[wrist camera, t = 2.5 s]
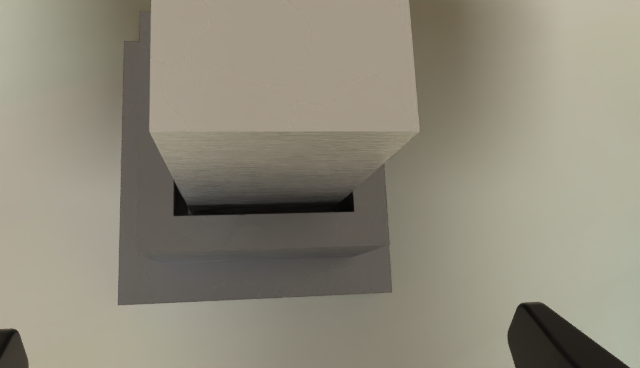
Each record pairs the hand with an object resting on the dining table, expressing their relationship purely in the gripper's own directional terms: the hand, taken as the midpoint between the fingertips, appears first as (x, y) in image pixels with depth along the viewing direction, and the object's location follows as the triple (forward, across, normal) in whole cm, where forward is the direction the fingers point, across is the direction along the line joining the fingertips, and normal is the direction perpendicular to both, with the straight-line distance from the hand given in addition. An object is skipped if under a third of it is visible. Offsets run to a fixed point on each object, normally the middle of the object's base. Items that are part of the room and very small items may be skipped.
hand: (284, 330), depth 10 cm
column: (+12, 0, +3) cm, 12 cm away
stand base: (+13, 0, +5) cm, 14 cm away
